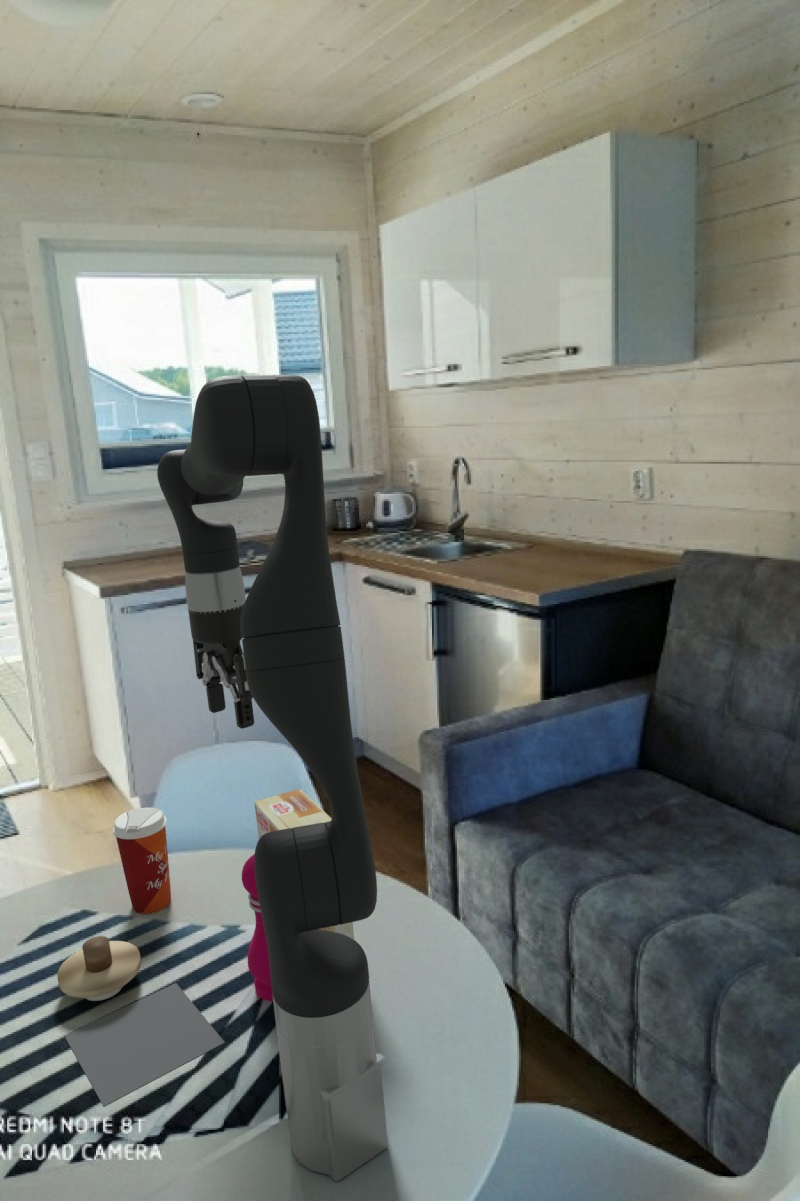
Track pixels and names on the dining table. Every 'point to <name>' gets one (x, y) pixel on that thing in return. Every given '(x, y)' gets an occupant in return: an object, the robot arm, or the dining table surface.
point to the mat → (141, 1042)
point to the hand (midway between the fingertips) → (231, 718)
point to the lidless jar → (104, 995)
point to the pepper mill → (257, 937)
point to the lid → (99, 968)
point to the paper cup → (144, 858)
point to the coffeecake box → (293, 824)
